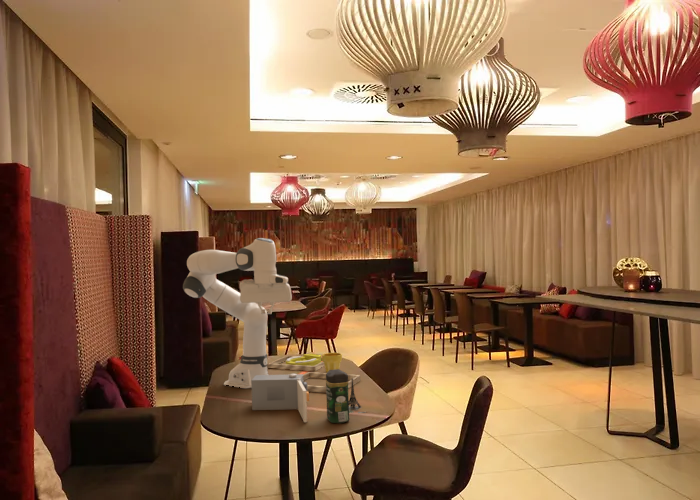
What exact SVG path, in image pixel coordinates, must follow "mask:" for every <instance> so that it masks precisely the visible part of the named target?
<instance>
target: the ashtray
mask: <svg viewBox="0 0 700 500" xmlns="http://www.w3.org/2000/svg"><path fill="white" fill-rule="evenodd" d="M296 356H297V355H296ZM302 356H303V357H301V356H300V355H299V356H297V357H292V358H288V359H287V360H286V361H285V365H303V366H315V365H317V364H319V363H321V357H322V355H321V354H315V353H304V354H303V355H302Z"/></svg>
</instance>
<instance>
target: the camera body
mask: <svg viewBox="0 0 700 500" xmlns="http://www.w3.org/2000/svg"><path fill="white" fill-rule="evenodd" d="M303 375H304V374H301V373H299V374H298V373H289V374H268V375H256V376H255V377H254V378H253V379H252V388H251V409H252V411H267V410H268V411H269V410H270V411H274V410H279V411H281V410H298V403H297V378H300V380H301V382H302V384H303V386H304V387H305V389H306V392H307V391H308V387H307V385H308V382H307V381H303Z"/></svg>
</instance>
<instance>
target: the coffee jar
mask: <svg viewBox="0 0 700 500" xmlns="http://www.w3.org/2000/svg"><path fill="white" fill-rule="evenodd" d="M325 373H326V372H325ZM348 375H349V374H348V373H346V371H344V370H341V369H335V370H329V371H328V372H327V373H326V379H325V387H326V393H325V395H326V418H327V420H328V421H329V422H330V423H331V424H344V423H346V422H349V421H350V413H349V406H350V405H349V400H350V396H349V389H348V382H349V380H348Z"/></svg>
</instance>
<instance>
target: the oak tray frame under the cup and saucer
mask: <svg viewBox="0 0 700 500" xmlns="http://www.w3.org/2000/svg"><path fill="white" fill-rule="evenodd" d="M347 375H348V390H349V389H350V388H351V386H352V380H351V379H353V386H354V385H356V384H357V383H359V382H360V381H361V374H347ZM308 379H323V380H324V379H325V380H326V372H315V371H307V372H306V373H304V374H303V382H305V381H306V380H308ZM307 387H308V392H310V393H323V394H326V386H322V385H321V386H320V385H309V384H307Z"/></svg>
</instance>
